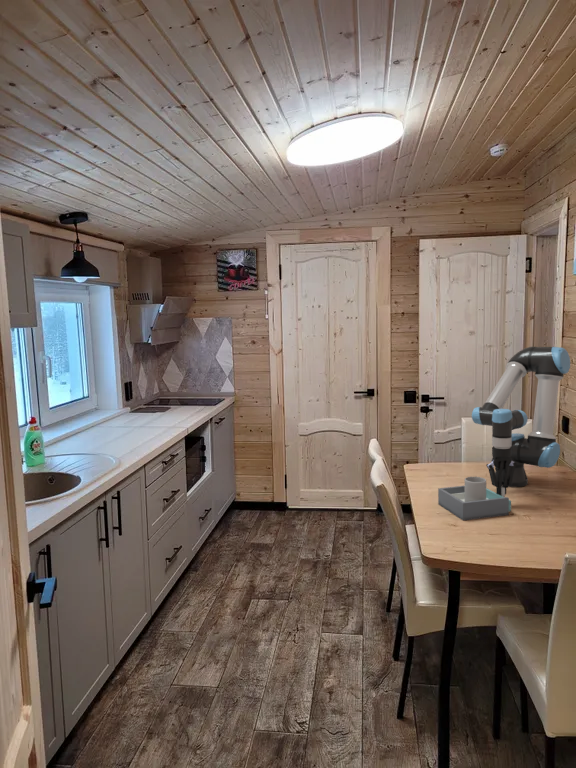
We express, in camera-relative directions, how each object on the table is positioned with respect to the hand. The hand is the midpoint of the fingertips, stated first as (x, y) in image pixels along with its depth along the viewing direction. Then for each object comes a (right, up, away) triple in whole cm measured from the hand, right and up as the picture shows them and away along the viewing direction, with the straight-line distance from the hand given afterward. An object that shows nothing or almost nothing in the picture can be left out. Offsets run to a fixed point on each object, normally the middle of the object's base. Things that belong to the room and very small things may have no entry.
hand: (501, 502), depth 231 cm
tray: (-11, -1, -2) cm, 12 cm away
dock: (-13, -2, -3) cm, 13 cm away
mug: (-11, -1, -2) cm, 12 cm away
